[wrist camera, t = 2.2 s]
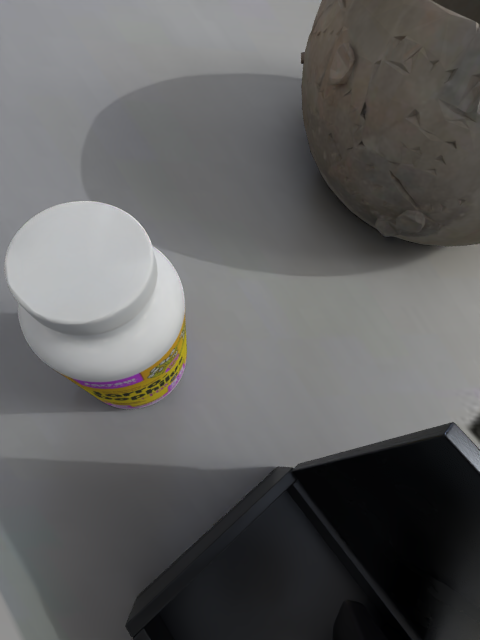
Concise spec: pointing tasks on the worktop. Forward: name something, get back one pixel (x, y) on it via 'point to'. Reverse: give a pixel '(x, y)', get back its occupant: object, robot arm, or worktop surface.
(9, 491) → the worktop surface
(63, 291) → the supplement bottle
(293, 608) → the black open box
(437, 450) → the lid
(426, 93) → the bowl
